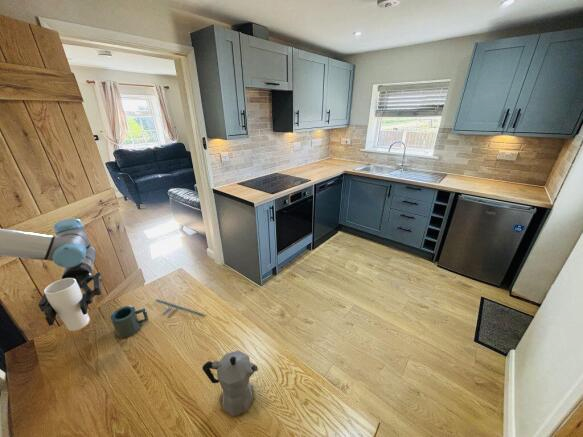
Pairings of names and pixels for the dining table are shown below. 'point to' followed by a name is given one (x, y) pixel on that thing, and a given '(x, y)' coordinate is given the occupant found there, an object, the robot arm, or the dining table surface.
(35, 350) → the dining table surface
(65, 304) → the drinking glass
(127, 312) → the mug
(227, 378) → the coffeepot
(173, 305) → the grey pronged rod
